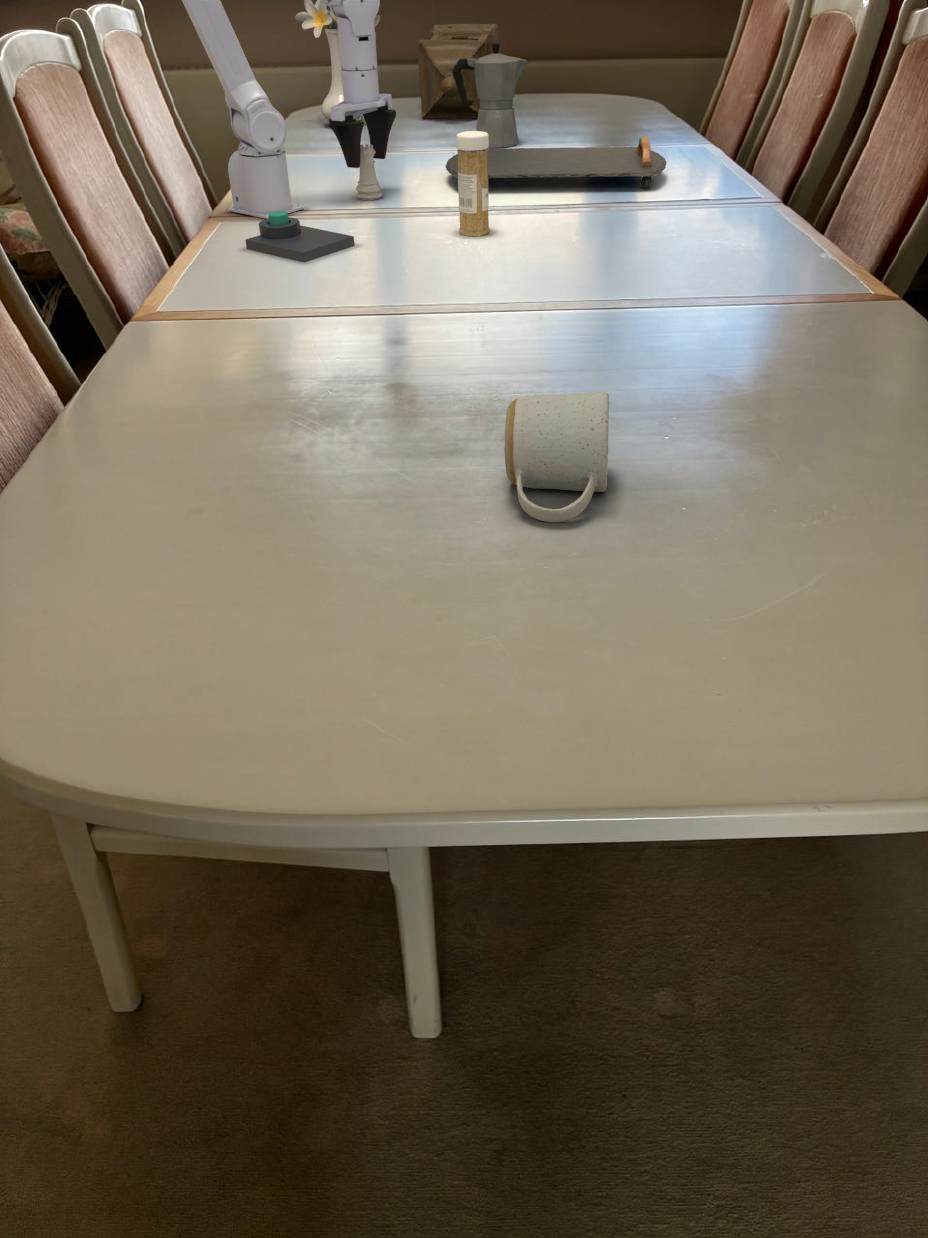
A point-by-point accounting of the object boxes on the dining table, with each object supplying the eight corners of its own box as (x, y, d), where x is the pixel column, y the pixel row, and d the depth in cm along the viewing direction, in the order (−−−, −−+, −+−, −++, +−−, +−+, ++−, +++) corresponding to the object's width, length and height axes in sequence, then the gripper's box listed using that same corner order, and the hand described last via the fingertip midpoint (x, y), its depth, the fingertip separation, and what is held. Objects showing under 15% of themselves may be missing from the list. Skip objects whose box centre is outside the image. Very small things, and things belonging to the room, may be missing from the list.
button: (265, 225, 138) (264, 213, 137) (280, 221, 140) (278, 209, 139) (278, 228, 137) (277, 216, 136) (293, 223, 138) (291, 212, 138)
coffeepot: (521, 137, 202) (522, 38, 192) (533, 145, 195) (535, 42, 184) (449, 142, 200) (446, 42, 189) (459, 151, 192) (456, 47, 182)
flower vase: (384, 128, 215) (375, -4, 200) (302, 131, 215) (288, -2, 201) (388, 119, 226) (380, -8, 211) (310, 121, 226) (297, -6, 211)
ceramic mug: (510, 460, 82) (510, 375, 77) (607, 463, 81) (613, 377, 76) (499, 525, 74) (498, 434, 69) (607, 529, 73) (613, 437, 68)
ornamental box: (481, 138, 217) (491, 44, 205) (404, 127, 217) (410, 33, 206) (496, 108, 244) (506, 24, 233) (428, 99, 245) (434, 14, 233)
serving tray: (441, 193, 163) (439, 153, 159) (451, 165, 181) (450, 129, 178) (671, 191, 160) (675, 150, 156) (658, 162, 178) (661, 125, 175)
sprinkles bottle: (495, 233, 141) (495, 132, 133) (469, 238, 139) (467, 136, 131) (478, 227, 144) (476, 128, 136) (452, 232, 142) (449, 132, 134)
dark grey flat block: (242, 248, 138) (239, 226, 136) (293, 233, 144) (291, 211, 143) (304, 262, 132) (301, 240, 130) (354, 246, 138) (352, 224, 136)
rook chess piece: (386, 195, 163) (383, 143, 158) (376, 201, 160) (372, 148, 155) (362, 193, 164) (358, 142, 159) (351, 199, 161) (347, 147, 156)
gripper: (353, 75, 144) (361, 173, 152) (405, 63, 154) (410, 156, 162) (316, 73, 147) (325, 169, 155) (368, 62, 157) (375, 153, 165)
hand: (366, 162), depth 159 cm, fingers open, 7 cm apart
